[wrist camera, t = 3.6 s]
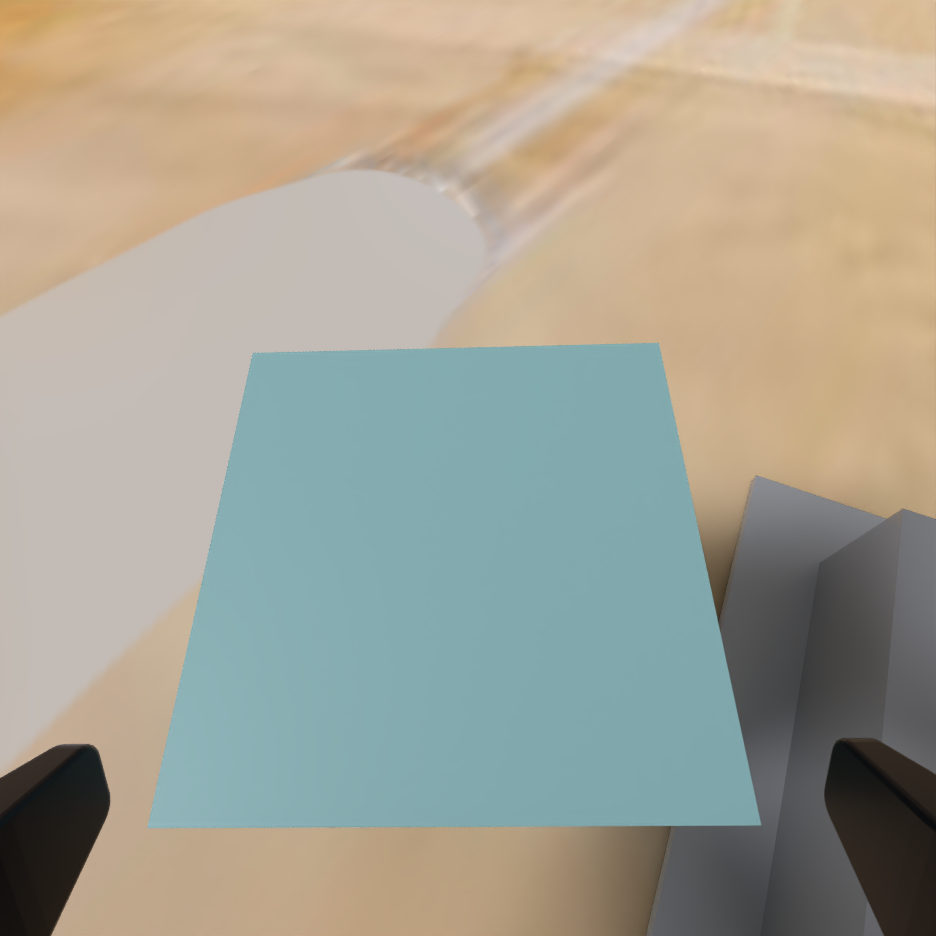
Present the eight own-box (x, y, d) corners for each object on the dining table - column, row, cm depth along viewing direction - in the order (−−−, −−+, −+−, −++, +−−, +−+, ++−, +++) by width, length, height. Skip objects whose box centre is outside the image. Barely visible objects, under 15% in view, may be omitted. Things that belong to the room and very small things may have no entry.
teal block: (570, 792, 15) (762, 824, 5) (383, 792, 15) (147, 828, 5) (555, 604, 18) (658, 342, 7) (393, 607, 18) (252, 352, 7)
